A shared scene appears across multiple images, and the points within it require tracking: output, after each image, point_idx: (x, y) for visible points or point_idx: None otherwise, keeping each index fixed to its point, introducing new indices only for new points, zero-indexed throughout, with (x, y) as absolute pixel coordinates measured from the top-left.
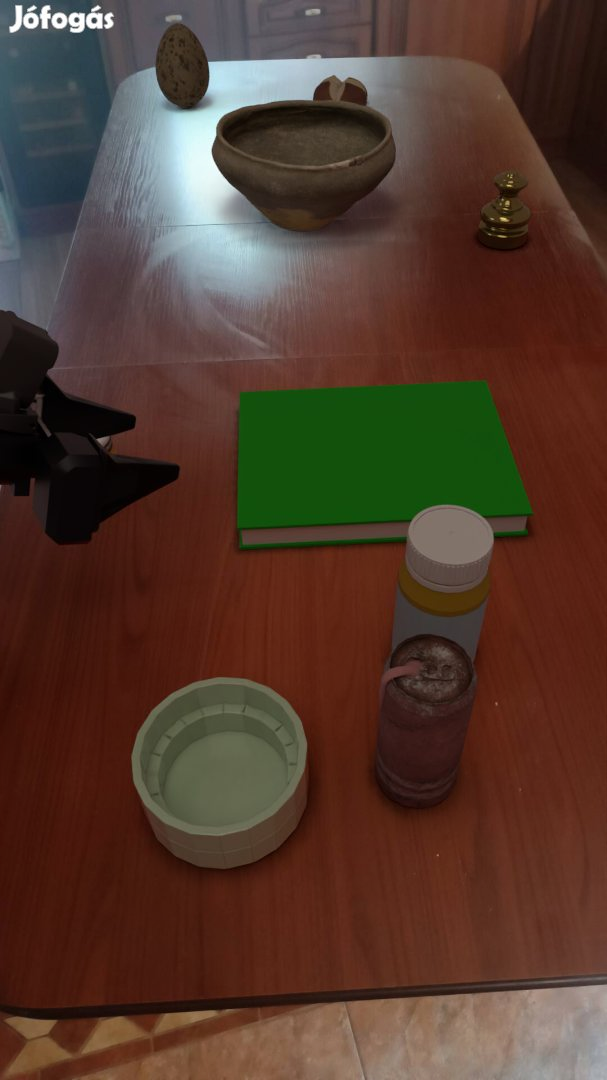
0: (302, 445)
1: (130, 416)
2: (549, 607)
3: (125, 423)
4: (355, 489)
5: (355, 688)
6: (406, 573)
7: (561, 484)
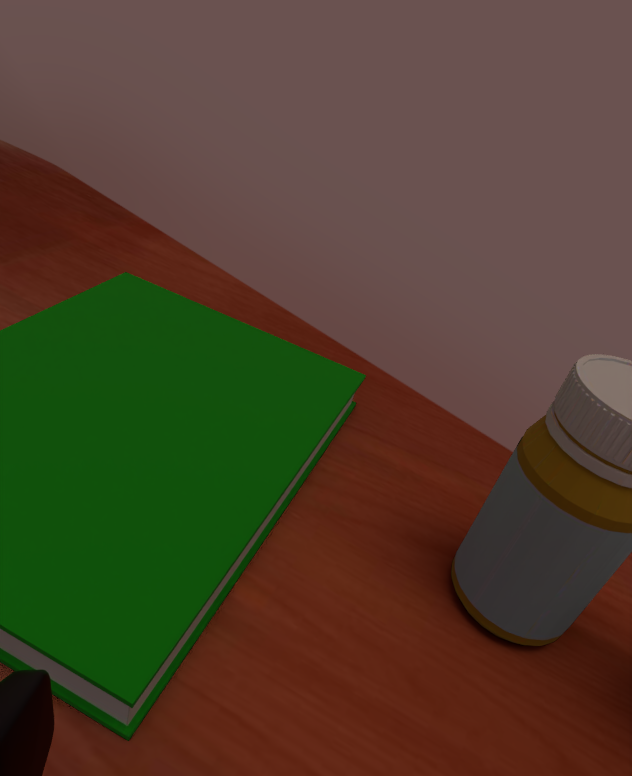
0: (21, 469)
1: (34, 693)
2: (462, 456)
3: (27, 755)
4: (196, 474)
5: (542, 727)
6: (615, 494)
7: (300, 345)
